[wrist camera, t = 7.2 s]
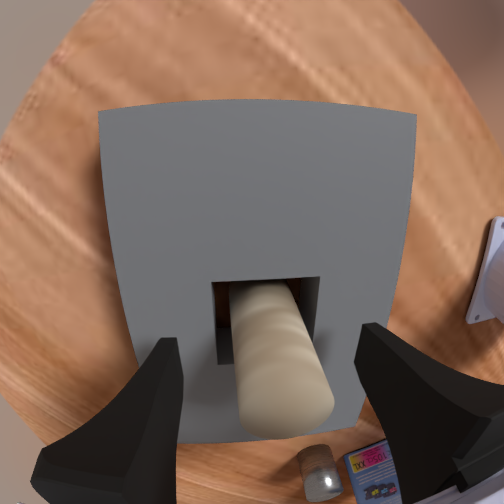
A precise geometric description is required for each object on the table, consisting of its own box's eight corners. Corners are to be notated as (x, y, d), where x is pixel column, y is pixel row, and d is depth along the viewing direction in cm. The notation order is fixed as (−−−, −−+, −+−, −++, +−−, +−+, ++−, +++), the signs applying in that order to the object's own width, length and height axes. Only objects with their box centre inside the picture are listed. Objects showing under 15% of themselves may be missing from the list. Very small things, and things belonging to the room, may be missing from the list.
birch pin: (289, 262, 16) (343, 376, 9) (284, 313, 17) (324, 433, 10) (228, 263, 16) (239, 384, 8) (228, 315, 17) (238, 442, 9)
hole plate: (382, 113, 13) (416, 114, 11) (341, 394, 20) (355, 426, 18) (121, 113, 12) (98, 111, 10) (168, 408, 19) (164, 443, 17)
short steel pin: (333, 441, 23) (347, 483, 19) (327, 458, 24) (339, 497, 20) (298, 447, 23) (309, 491, 19) (295, 463, 24) (304, 504, 20)
